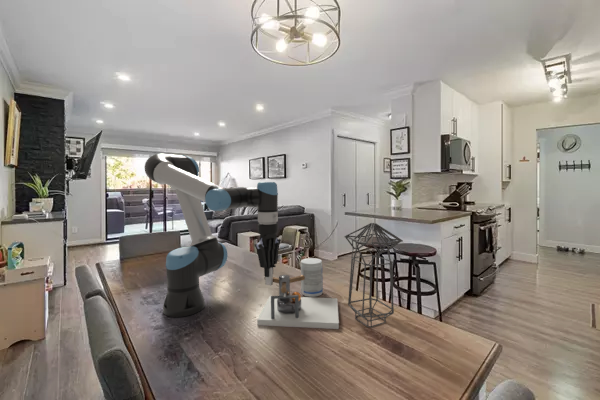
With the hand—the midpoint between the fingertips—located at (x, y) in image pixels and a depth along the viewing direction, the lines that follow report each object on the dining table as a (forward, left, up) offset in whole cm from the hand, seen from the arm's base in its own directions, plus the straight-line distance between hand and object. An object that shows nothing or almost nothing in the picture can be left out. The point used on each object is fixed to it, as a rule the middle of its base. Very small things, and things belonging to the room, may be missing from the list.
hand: (269, 284), depth 108 cm
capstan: (+5, 0, -8) cm, 10 cm away
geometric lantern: (+38, -3, -11) cm, 40 cm away
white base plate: (+12, -1, -11) cm, 16 cm away
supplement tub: (+15, +18, -11) cm, 26 cm away
